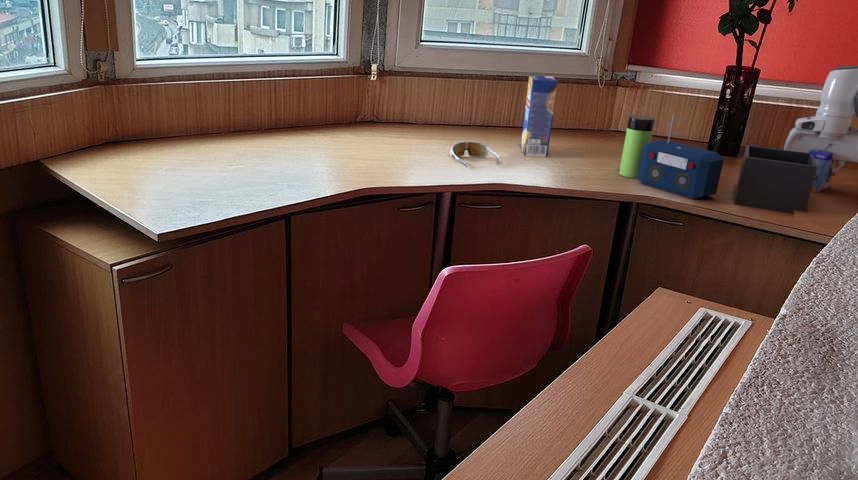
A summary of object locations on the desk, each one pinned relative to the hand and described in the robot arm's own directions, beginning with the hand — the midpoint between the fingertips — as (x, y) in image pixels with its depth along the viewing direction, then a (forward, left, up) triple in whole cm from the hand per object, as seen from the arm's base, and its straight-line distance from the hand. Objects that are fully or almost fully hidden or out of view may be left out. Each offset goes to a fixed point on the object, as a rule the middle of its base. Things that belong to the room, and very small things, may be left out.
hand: (817, 172), depth 206 cm
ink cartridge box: (0, 0, -6) cm, 6 cm away
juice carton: (+82, +3, -6) cm, 82 cm away
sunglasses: (+94, +28, -6) cm, 98 cm away
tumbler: (+49, +14, -6) cm, 51 cm away
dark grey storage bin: (+12, +20, -6) cm, 24 cm away
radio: (+36, +24, -6) cm, 44 cm away
